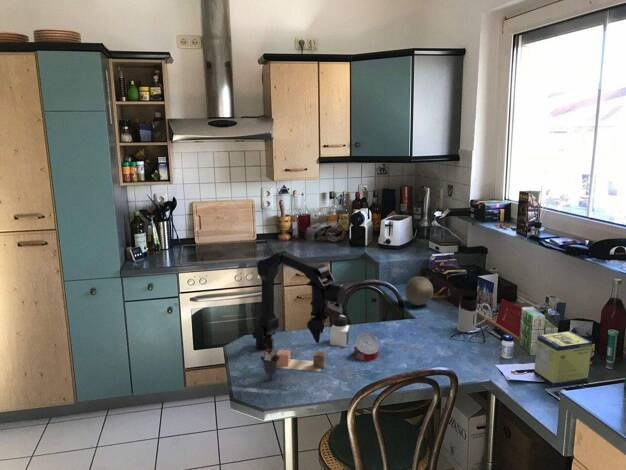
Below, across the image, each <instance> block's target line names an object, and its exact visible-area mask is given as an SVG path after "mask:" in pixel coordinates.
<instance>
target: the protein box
mask: <svg viewBox="0 0 626 470" xmlns="http://www.w3.org/2000/svg"><path fill="white" fill-rule="evenodd" d="M592 346H593V341H591V340H589V339H587V338H586V337H583V336H581V335H579V334H578V333H575V332H574V331H572V330H571V331H562V332H556V333H549V334H541V335H537V341H536V349H535V361H534V367H533V368H534V371H533V374H534V375H535V376H536V375H537V376H536V377H538V378H539V377H540V378H539V379H541V380H542V379H543V380H542V381H544V382H546V383H547V385H550V386H551V387H561V386H566V385H571V384H573V385H574V384H578V383H580V384H581V383H585V382H588V379H589V371H590V370H589V369H590V363H591V354H592Z"/></svg>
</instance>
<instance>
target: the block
mask: <svg viewBox="0 0 626 470" xmlns="http://www.w3.org/2000/svg"><path fill="white" fill-rule="evenodd" d="M276 354H277V355H278V356H279V360H278V361H277V366H288V365H289V363H290V359H291V350H289V349H288V350H287V349H278V351H277V352H276Z"/></svg>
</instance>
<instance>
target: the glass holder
mask: <svg viewBox="0 0 626 470" xmlns="http://www.w3.org/2000/svg"><path fill="white" fill-rule="evenodd" d="M458 304H459V305H458V319H457V320H458V321H457V326H456V330H457V331H459V332H462V333H465V332H468V331H471V330H475V329H476V330H477V326H478V325H480V324H481V323H483V322H485V321H486V320H487V319H488V318H489V317H490V314H491V312H490V311H491V307H490V305H489V304H488V303H482V304H481V305H480V306H479V310H478V309H477V307H478V306H477V305H478V297H476V296H474V295H470V294H469V295H467V294H465V295H464V294H463V295H461V296H460V297H459V303H458ZM483 305H485V306H487V308H488V314H487V316H486V318H484V319H483V320H482V321H480V322H478V323H477V316H478V315H477V313H480V312H481V310H482V306H483Z"/></svg>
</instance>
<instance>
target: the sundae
mask: <svg viewBox="0 0 626 470" xmlns="http://www.w3.org/2000/svg"><path fill="white" fill-rule="evenodd" d="M265 345H266V344H265ZM266 346H267V345H266ZM260 360H261V361H262V363H263V369H264V372H265V374H266V375H268V382H273V381H274V380H273V375H274V374H275V373H276V372H277V369H278V368H277V361H278V360H279V356H278V355H277V353H275V351H273V349H271V350H270V349H268V346H267V349H266V350H264V352H263V355H261V357H260Z"/></svg>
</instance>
